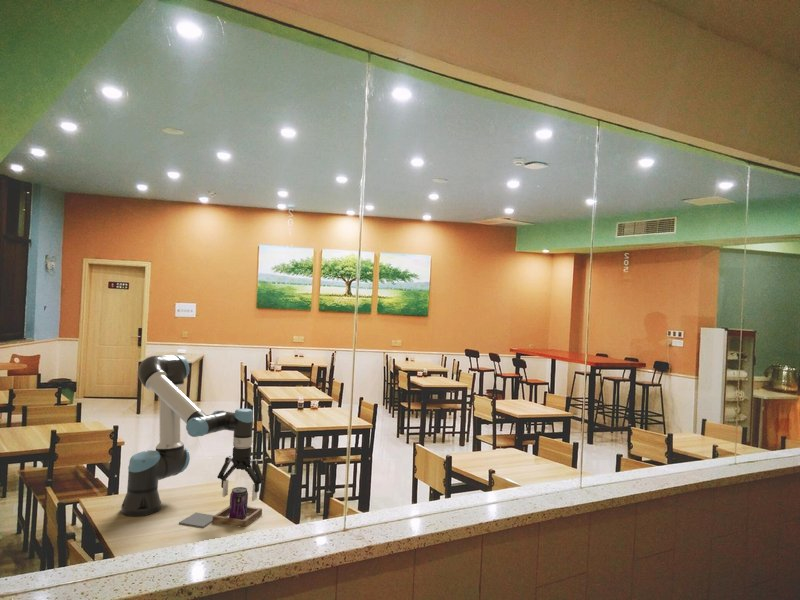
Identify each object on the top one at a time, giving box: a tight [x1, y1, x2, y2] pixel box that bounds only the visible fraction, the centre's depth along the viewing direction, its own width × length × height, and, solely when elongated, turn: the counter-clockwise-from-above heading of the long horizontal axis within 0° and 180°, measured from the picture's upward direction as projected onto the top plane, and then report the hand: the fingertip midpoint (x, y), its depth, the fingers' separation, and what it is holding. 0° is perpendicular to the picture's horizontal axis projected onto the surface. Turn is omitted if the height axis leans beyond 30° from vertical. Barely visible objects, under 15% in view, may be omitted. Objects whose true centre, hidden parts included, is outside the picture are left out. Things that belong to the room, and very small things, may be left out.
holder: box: [211, 505, 263, 528], centre depth 213 cm, size 14×14×2 cm
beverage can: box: [228, 486, 249, 520], centre depth 213 cm, size 7×7×12 cm
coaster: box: [178, 512, 215, 529], centre depth 209 cm, size 11×11×1 cm
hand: (239, 497), depth 213 cm, fingers open, 13 cm apart
